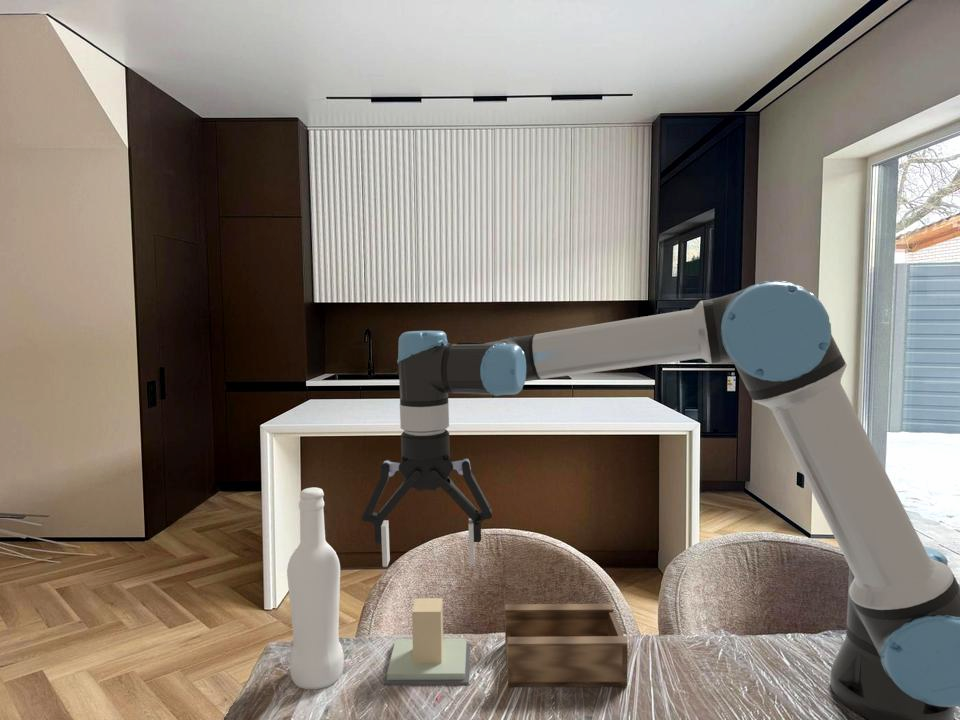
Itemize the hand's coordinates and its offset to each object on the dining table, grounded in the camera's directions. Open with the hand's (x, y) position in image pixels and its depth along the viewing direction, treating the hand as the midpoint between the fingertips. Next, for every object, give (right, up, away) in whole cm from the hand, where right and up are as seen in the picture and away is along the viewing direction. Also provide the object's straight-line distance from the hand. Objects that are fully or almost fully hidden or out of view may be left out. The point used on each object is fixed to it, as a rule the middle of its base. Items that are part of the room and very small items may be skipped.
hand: (429, 562), depth 101 cm
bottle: (-17, -18, -1) cm, 25 cm away
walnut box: (+21, -17, +2) cm, 27 cm away
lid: (0, -17, +2) cm, 17 cm away
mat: (0, -17, +2) cm, 17 cm away
